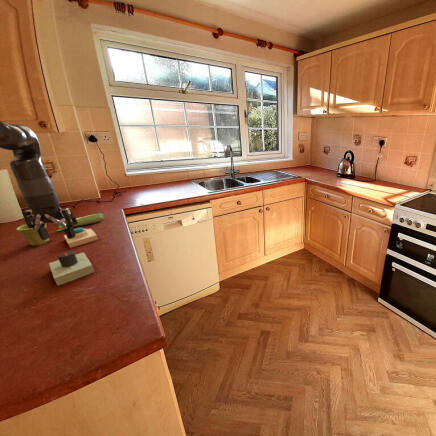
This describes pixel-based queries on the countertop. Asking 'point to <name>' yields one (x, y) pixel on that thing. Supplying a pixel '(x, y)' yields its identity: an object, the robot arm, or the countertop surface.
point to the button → (78, 230)
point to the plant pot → (31, 235)
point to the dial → (67, 259)
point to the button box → (81, 238)
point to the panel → (71, 269)
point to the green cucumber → (87, 220)
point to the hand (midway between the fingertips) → (59, 238)
